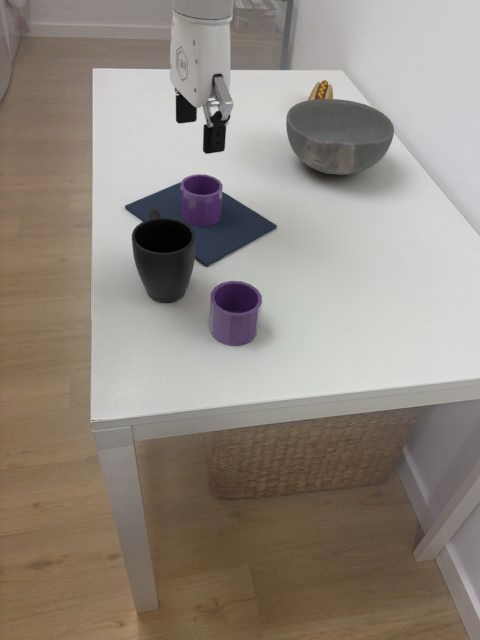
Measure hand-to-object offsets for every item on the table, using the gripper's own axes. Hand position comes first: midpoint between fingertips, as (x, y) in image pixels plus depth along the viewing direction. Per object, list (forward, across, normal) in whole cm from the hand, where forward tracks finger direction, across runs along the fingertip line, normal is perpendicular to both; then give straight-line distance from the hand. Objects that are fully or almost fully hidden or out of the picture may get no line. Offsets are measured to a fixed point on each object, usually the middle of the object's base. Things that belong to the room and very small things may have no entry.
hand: (199, 136), depth 78 cm
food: (+14, -30, +44) cm, 55 cm away
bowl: (+14, -7, +32) cm, 36 cm away
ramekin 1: (+14, 0, +1) cm, 14 cm away
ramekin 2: (+15, +25, -6) cm, 30 cm away
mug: (+15, +13, -11) cm, 22 cm away
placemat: (+14, 0, +1) cm, 14 cm away
